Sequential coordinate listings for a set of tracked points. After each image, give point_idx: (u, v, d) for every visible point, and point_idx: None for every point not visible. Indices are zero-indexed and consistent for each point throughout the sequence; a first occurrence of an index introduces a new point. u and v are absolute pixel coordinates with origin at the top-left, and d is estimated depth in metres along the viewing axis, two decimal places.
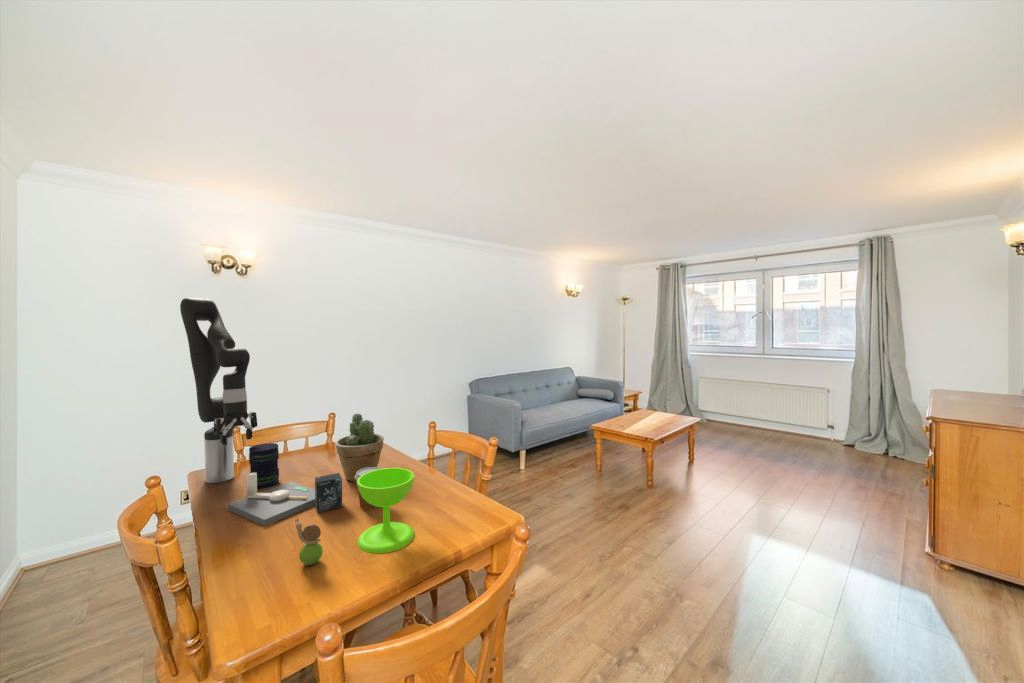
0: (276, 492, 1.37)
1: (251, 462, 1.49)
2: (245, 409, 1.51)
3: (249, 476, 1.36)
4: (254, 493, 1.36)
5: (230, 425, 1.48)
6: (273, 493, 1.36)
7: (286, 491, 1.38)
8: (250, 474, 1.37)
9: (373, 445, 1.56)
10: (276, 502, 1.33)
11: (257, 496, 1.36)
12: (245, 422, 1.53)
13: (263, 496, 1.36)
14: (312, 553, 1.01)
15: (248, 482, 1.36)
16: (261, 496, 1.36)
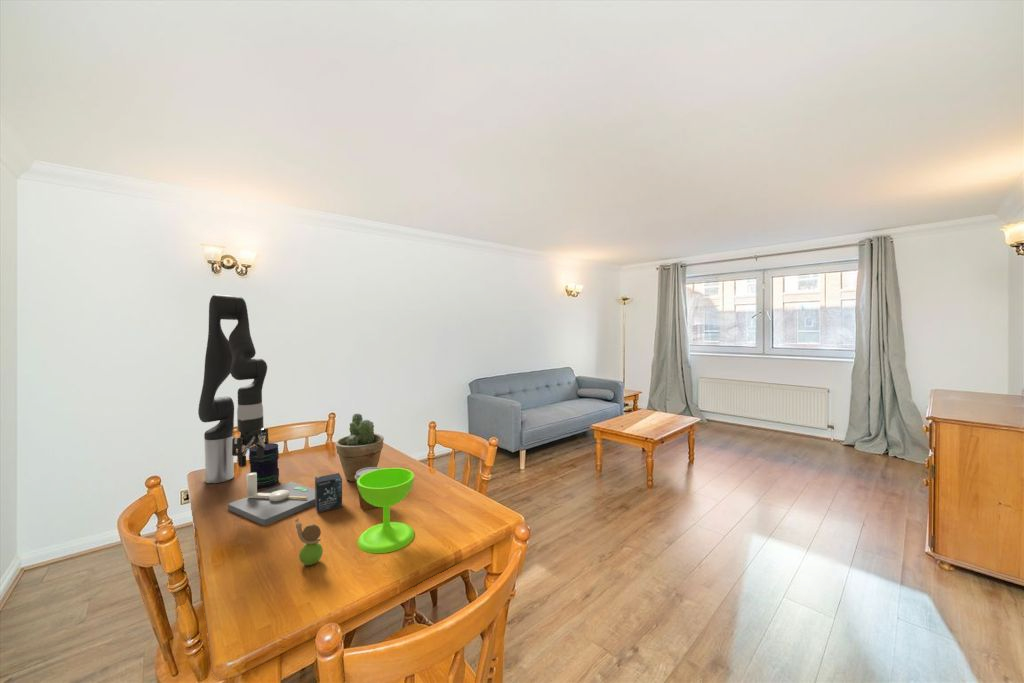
0: (276, 492, 1.37)
1: (251, 462, 1.49)
2: (263, 425, 1.38)
3: (249, 476, 1.36)
4: (254, 493, 1.36)
5: (249, 444, 1.34)
6: (273, 493, 1.36)
7: (286, 491, 1.38)
8: (250, 474, 1.37)
9: (373, 445, 1.56)
10: (276, 502, 1.33)
11: (257, 496, 1.36)
12: (260, 440, 1.39)
13: (263, 496, 1.36)
14: (312, 553, 1.01)
15: (248, 482, 1.36)
16: (261, 496, 1.36)
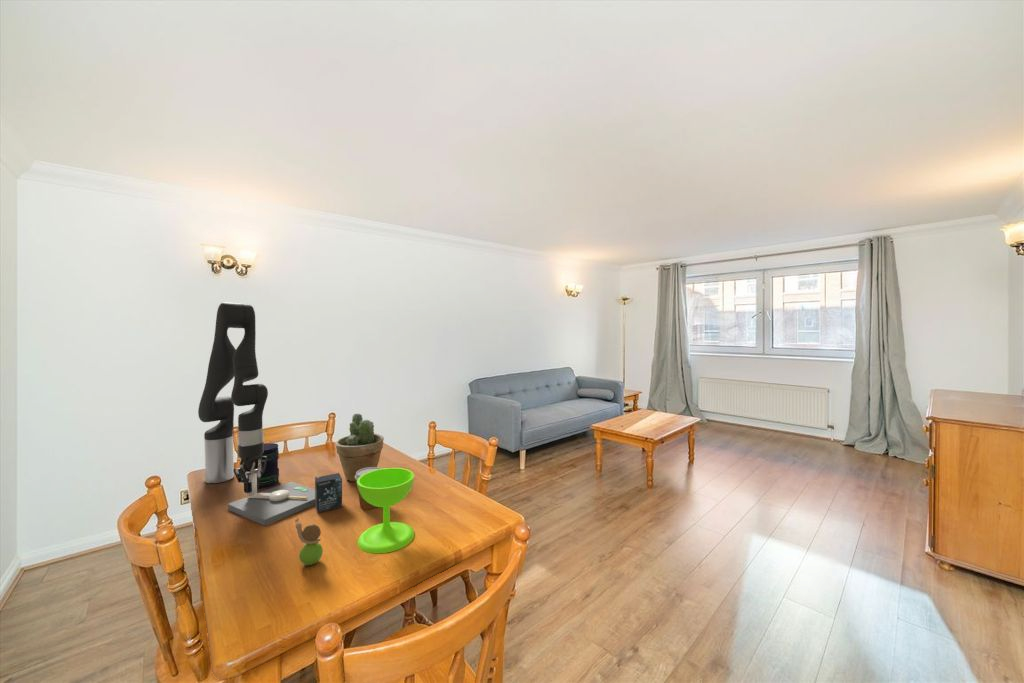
0: (276, 492, 1.37)
1: None
2: (263, 450, 1.38)
3: None
4: (254, 493, 1.36)
5: (252, 470, 1.35)
6: (273, 493, 1.36)
7: (286, 491, 1.38)
8: None
9: (373, 445, 1.56)
10: (276, 502, 1.33)
11: (257, 496, 1.36)
12: (259, 466, 1.38)
13: (263, 496, 1.36)
14: (312, 553, 1.01)
15: None
16: (261, 496, 1.36)
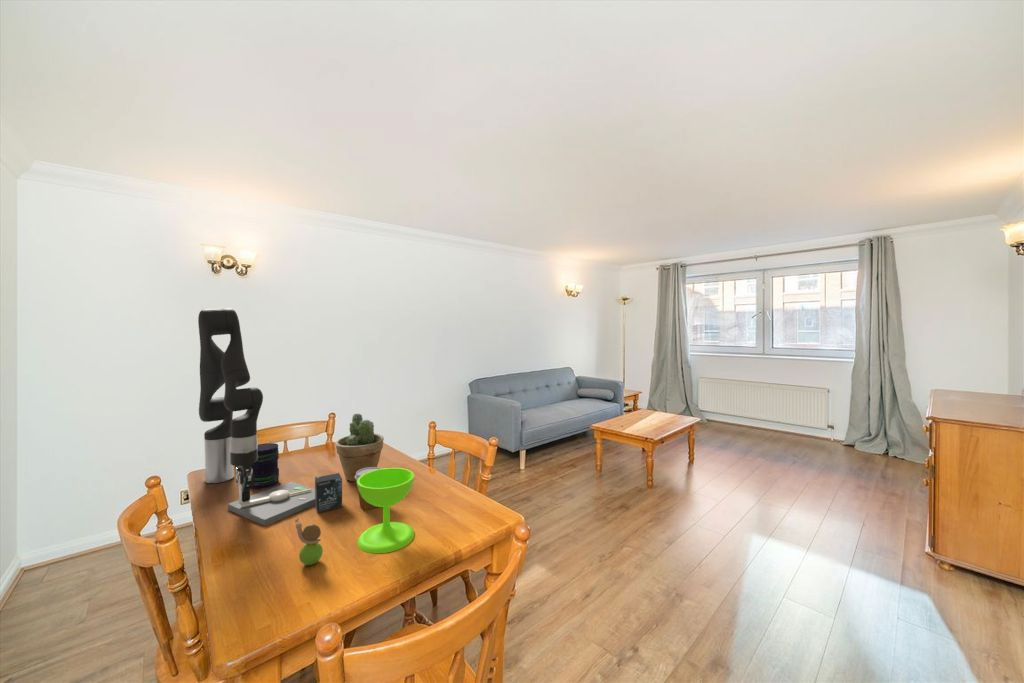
0: (274, 493, 1.36)
1: None
2: None
3: None
4: (249, 500, 1.31)
5: None
6: (272, 495, 1.35)
7: (283, 490, 1.39)
8: None
9: (373, 445, 1.56)
10: (276, 502, 1.33)
11: (254, 502, 1.31)
12: None
13: (262, 500, 1.33)
14: (312, 553, 1.01)
15: None
16: (259, 501, 1.32)
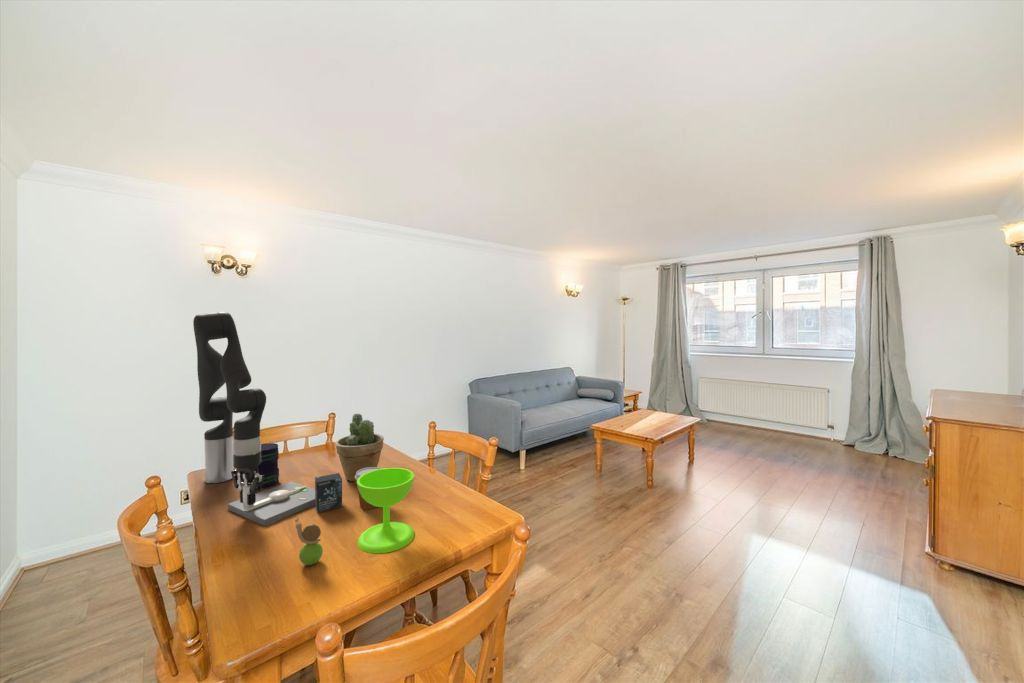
0: (273, 494, 1.35)
1: None
2: None
3: (251, 486, 1.27)
4: (254, 503, 1.29)
5: None
6: (273, 495, 1.35)
7: (280, 490, 1.39)
8: None
9: (373, 445, 1.56)
10: (276, 502, 1.33)
11: (259, 504, 1.30)
12: None
13: (265, 502, 1.32)
14: (312, 553, 1.01)
15: None
16: (263, 503, 1.31)
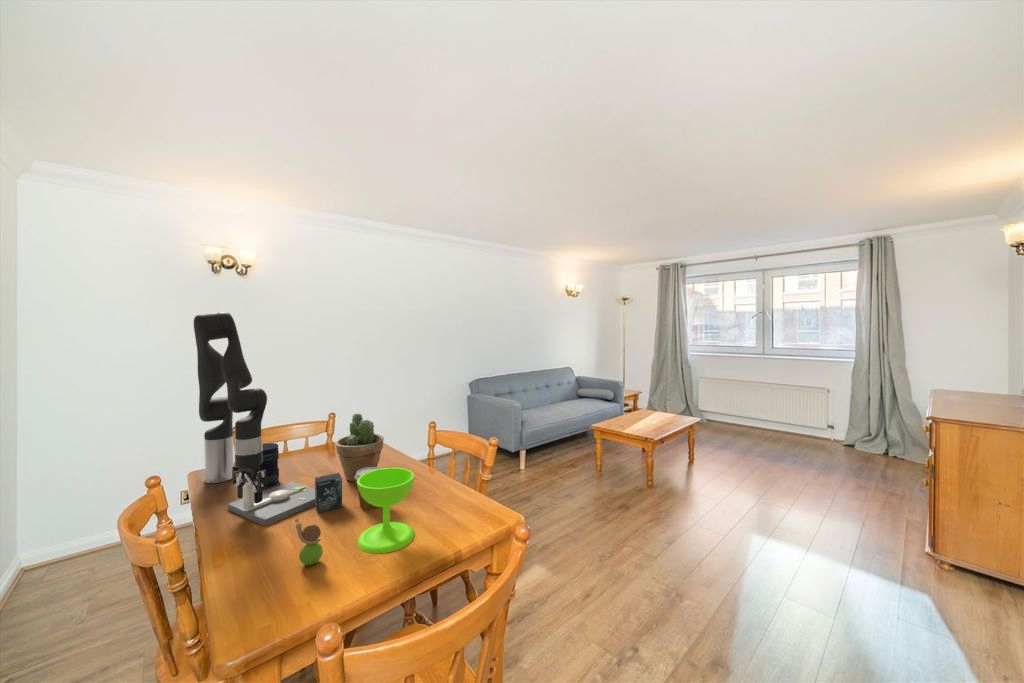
0: (273, 494, 1.35)
1: None
2: None
3: None
4: (254, 503, 1.29)
5: None
6: (273, 495, 1.35)
7: (280, 490, 1.39)
8: (248, 485, 1.27)
9: (373, 445, 1.56)
10: (276, 502, 1.33)
11: (259, 504, 1.30)
12: None
13: (266, 502, 1.32)
14: (312, 553, 1.01)
15: (250, 493, 1.27)
16: (263, 503, 1.31)
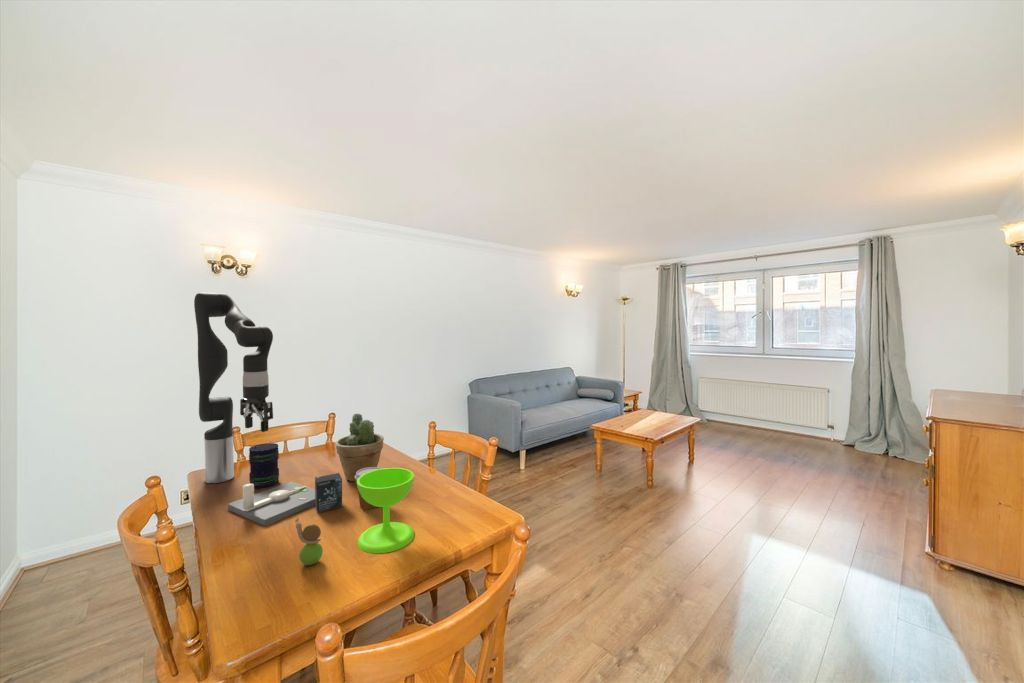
0: (273, 494, 1.35)
1: (251, 462, 1.49)
2: None
3: (251, 486, 1.27)
4: (254, 503, 1.29)
5: None
6: (273, 495, 1.35)
7: (280, 490, 1.39)
8: (248, 485, 1.27)
9: (373, 445, 1.56)
10: (276, 502, 1.33)
11: (259, 504, 1.30)
12: None
13: (266, 502, 1.32)
14: (312, 553, 1.01)
15: (250, 493, 1.27)
16: (263, 503, 1.31)
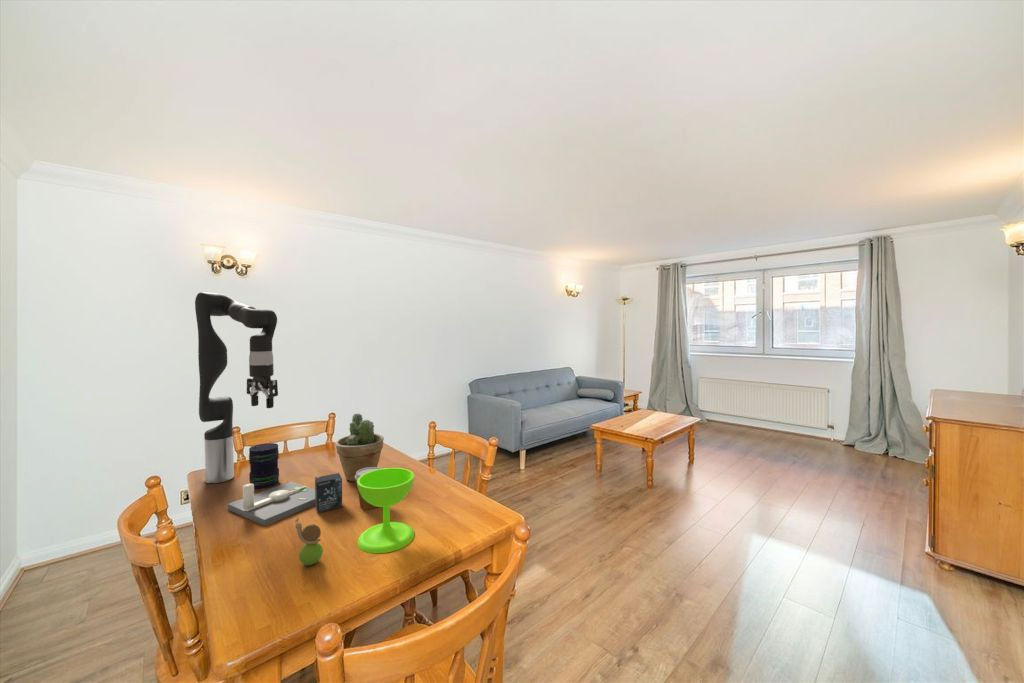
0: (273, 494, 1.35)
1: (251, 462, 1.49)
2: None
3: (251, 486, 1.27)
4: (254, 503, 1.29)
5: None
6: (273, 495, 1.35)
7: (280, 490, 1.39)
8: (248, 485, 1.27)
9: (373, 445, 1.56)
10: (276, 502, 1.33)
11: (259, 504, 1.30)
12: None
13: (266, 502, 1.32)
14: (312, 553, 1.01)
15: (250, 493, 1.27)
16: (263, 503, 1.31)
